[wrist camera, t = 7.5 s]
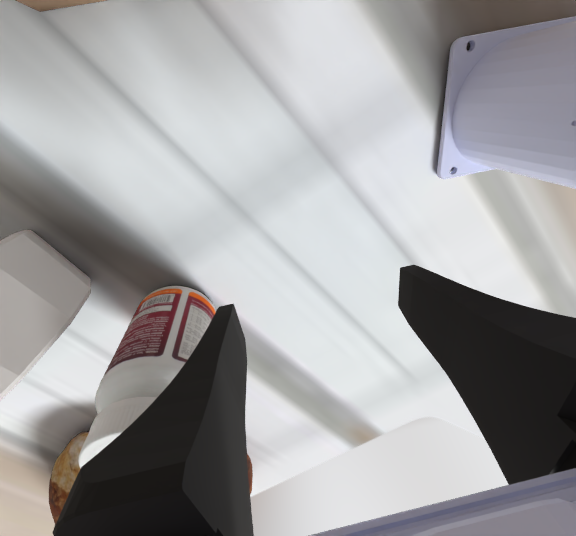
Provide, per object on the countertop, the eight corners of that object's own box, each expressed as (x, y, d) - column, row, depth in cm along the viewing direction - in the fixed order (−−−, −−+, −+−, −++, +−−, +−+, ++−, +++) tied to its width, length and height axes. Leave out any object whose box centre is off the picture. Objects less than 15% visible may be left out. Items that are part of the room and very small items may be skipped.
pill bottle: (131, 332, 24) (55, 492, 14) (149, 272, 21) (71, 415, 11) (205, 348, 26) (183, 498, 16) (229, 295, 23) (220, 434, 13)
